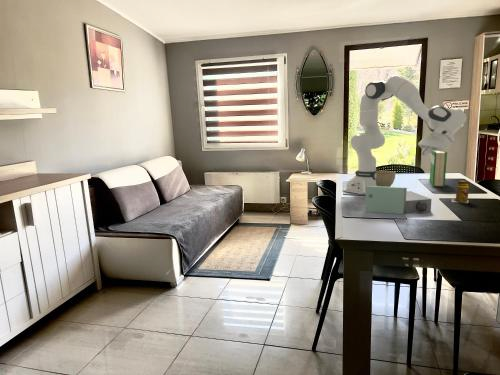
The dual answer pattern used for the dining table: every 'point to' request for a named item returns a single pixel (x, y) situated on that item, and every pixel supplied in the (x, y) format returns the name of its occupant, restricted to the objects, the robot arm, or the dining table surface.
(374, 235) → the dining table surface
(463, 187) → the condiment
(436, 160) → the hardback book
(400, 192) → the side door
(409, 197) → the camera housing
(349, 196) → the dining table surface
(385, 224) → the dining table surface
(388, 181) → the planter bowl
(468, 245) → the dining table surface
